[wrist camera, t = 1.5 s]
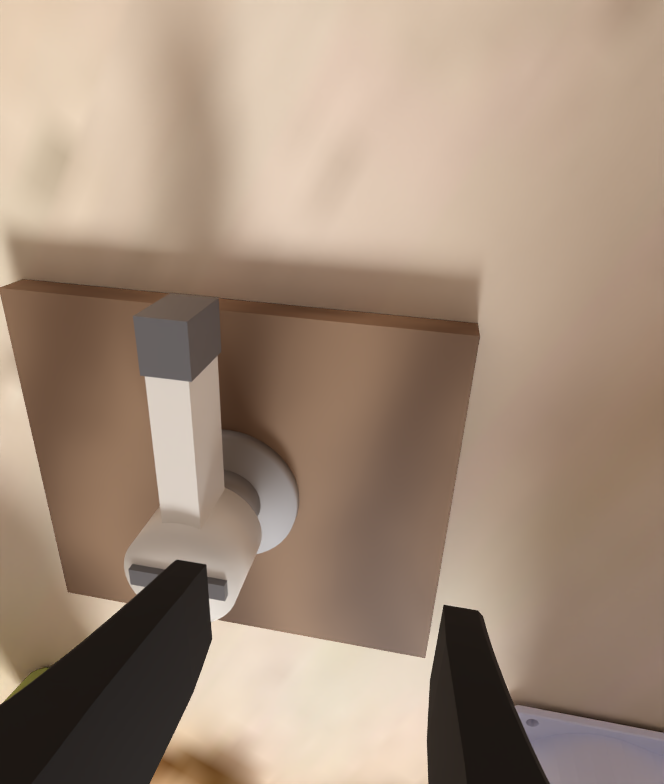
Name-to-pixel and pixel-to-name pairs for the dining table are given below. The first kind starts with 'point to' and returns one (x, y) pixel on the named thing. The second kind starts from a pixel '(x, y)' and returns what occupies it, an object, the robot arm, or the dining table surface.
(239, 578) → the gray-tipped lever post
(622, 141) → the dining table surface
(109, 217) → the dining table surface
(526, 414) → the dining table surface
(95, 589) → the brown rectangular board
